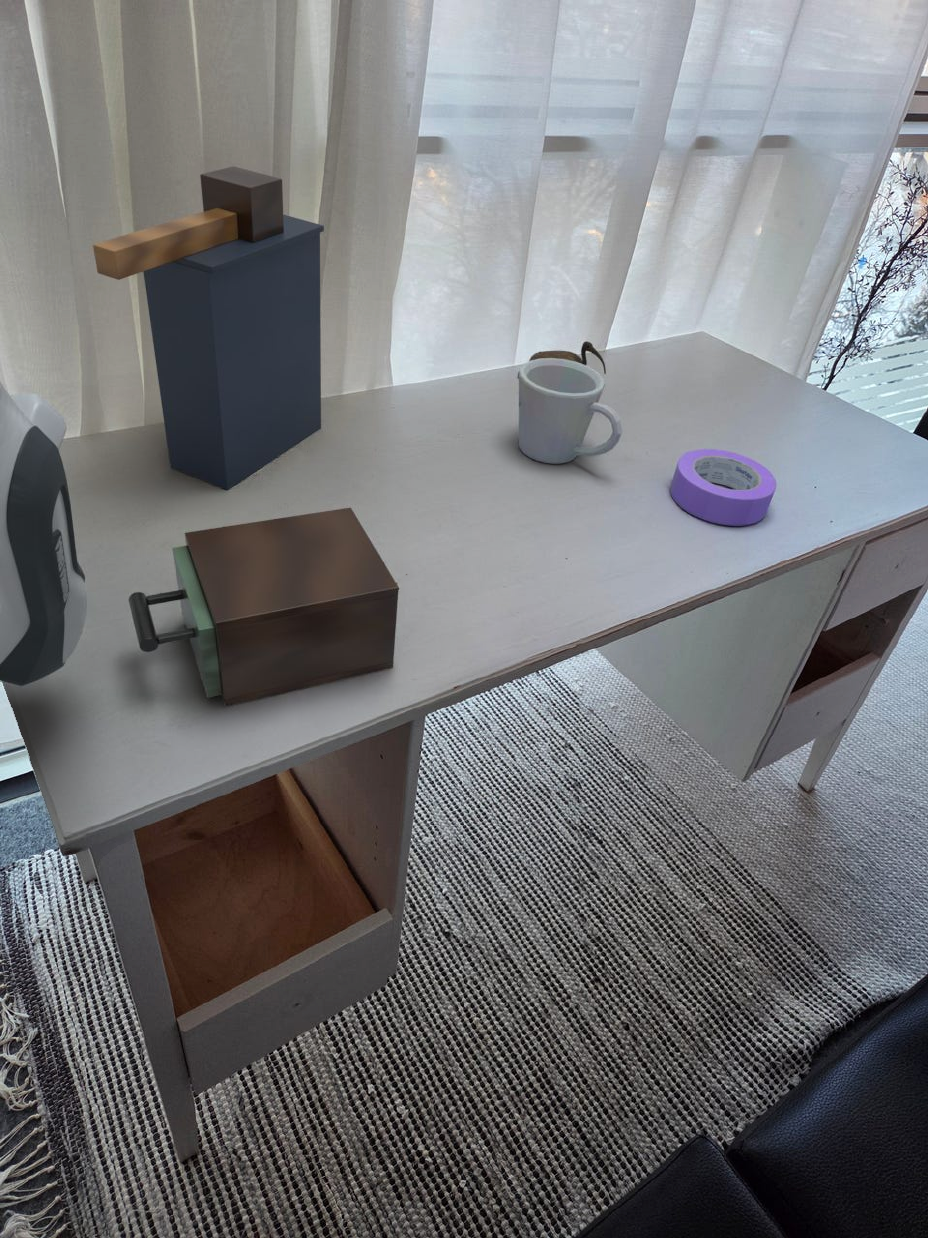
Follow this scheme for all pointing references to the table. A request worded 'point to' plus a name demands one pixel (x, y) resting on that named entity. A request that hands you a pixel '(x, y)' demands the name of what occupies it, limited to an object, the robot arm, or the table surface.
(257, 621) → the cabinet
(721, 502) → the tape roll
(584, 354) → the figurine
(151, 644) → the drawer
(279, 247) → the stand
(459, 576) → the table surface
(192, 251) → the mallet
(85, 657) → the table surface
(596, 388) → the mug
